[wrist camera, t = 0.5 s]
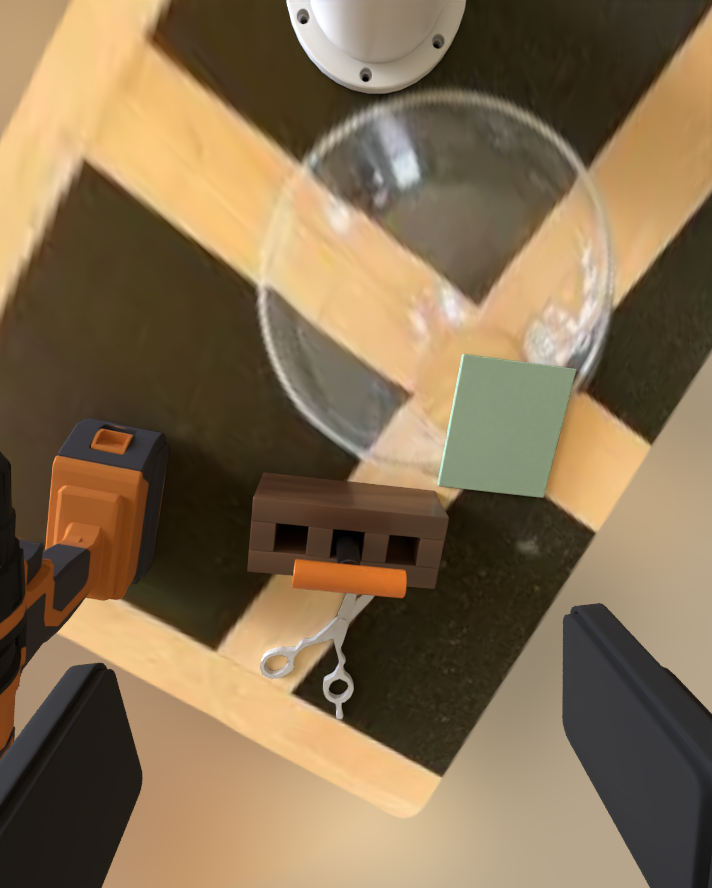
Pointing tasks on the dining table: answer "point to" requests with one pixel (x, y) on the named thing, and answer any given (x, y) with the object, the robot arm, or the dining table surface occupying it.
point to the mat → (504, 425)
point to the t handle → (349, 572)
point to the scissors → (331, 631)
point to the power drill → (77, 541)
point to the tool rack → (346, 525)
